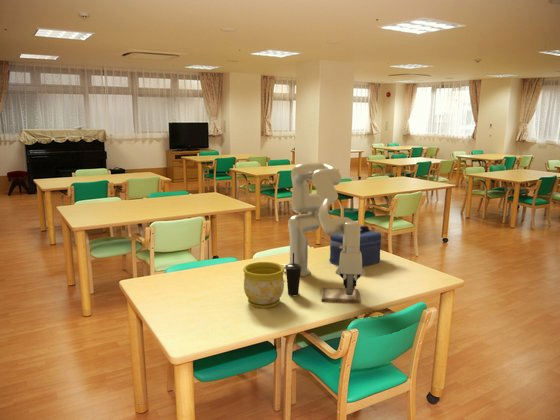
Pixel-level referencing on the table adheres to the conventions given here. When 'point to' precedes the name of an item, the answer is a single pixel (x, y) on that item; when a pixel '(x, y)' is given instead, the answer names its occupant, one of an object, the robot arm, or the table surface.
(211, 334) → the table surface
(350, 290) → the translucent bottle
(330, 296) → the board
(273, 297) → the flowerpot
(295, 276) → the drinking cup
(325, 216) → the robot arm
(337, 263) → the lunch bag
